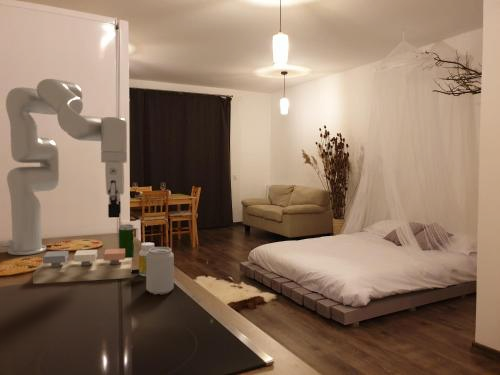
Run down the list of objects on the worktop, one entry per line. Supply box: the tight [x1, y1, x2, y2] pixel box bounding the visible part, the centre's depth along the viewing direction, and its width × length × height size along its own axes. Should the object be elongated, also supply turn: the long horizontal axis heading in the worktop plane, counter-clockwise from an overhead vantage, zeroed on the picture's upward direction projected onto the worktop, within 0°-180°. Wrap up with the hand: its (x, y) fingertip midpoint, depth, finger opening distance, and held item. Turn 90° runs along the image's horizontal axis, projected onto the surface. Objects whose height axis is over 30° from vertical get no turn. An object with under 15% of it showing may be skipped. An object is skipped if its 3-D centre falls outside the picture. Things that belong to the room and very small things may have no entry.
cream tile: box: [73, 249, 98, 265], centre depth 123 cm, size 6×6×4 cm
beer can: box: [117, 223, 135, 260], centre depth 141 cm, size 5×5×12 cm
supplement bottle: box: [138, 242, 155, 277], centre depth 125 cm, size 5×5×10 cm
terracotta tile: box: [103, 248, 125, 264], centre depth 125 cm, size 6×6×4 cm
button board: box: [32, 258, 133, 285], centre depth 123 cm, size 27×12×3 cm, turn 106°
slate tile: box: [42, 250, 69, 267], centre depth 121 cm, size 6×6×4 cm
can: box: [145, 246, 175, 295], centre depth 111 cm, size 8×8×12 cm
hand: (114, 214), depth 124 cm, fingers open, 6 cm apart
